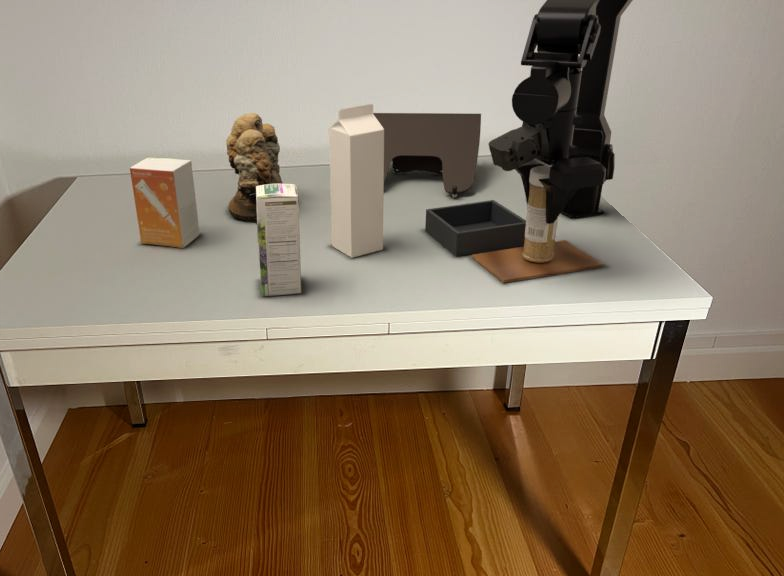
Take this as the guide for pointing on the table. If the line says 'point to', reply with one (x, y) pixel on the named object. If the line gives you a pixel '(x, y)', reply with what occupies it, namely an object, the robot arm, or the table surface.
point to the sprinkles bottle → (538, 220)
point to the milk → (357, 181)
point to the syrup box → (278, 239)
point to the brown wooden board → (516, 268)
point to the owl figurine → (252, 162)
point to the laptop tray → (433, 145)
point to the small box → (165, 201)
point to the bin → (475, 227)
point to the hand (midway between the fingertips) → (541, 217)
